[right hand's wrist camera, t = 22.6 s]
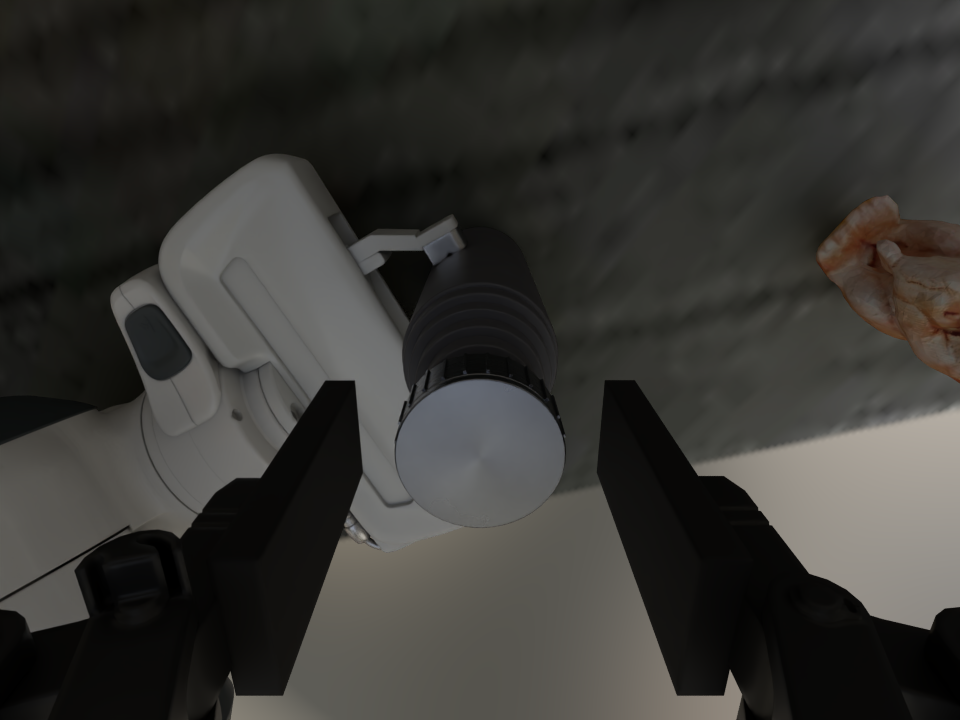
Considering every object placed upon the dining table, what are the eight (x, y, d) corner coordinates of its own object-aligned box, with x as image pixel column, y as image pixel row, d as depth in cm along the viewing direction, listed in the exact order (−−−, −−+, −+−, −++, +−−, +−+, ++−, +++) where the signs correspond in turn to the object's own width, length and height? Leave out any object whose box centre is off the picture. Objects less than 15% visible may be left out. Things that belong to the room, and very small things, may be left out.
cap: (416, 335, 14) (408, 360, 12) (577, 369, 14) (589, 397, 12) (389, 475, 15) (379, 513, 14) (536, 503, 16) (542, 543, 14)
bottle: (417, 293, 32) (335, 483, 14) (459, 209, 30) (429, 299, 12) (498, 335, 33) (521, 563, 15) (544, 255, 31) (633, 402, 13)
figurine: (836, 178, 30) (1153, 206, 16) (929, 258, 31) (1292, 348, 17) (754, 271, 32) (973, 370, 18) (846, 342, 33) (1114, 485, 19)
